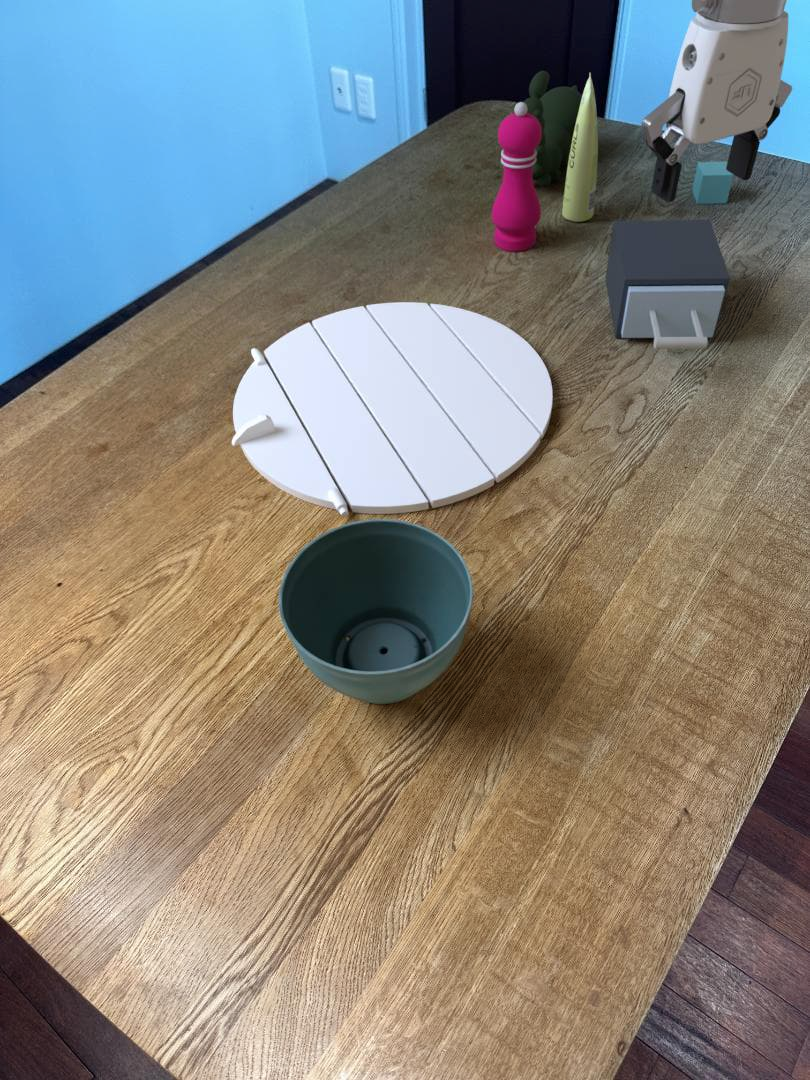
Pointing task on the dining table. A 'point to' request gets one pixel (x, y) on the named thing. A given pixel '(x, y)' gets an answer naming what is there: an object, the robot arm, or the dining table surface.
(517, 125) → the pepper mill
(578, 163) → the tube
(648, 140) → the robot arm
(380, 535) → the flower pot
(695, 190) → the teal cube
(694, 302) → the drawer
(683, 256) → the dark grey cabinet
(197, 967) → the dining table surface
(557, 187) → the dining table surface
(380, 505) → the lazy susan
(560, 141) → the toy figurine
